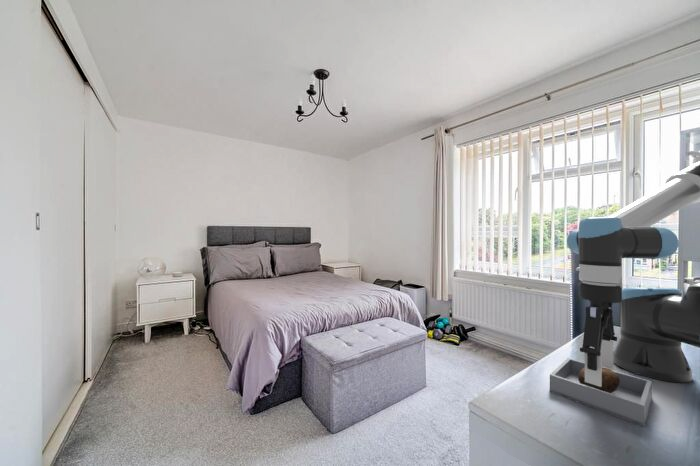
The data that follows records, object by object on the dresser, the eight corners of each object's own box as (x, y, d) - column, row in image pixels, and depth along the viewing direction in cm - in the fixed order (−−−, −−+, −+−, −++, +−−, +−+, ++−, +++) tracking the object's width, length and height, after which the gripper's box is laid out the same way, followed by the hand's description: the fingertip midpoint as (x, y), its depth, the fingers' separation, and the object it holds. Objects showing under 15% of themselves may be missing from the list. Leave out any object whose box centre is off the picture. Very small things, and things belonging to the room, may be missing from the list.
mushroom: (629, 379, 64) (610, 356, 65) (632, 407, 58) (612, 381, 59) (589, 383, 69) (573, 361, 70) (589, 408, 64) (571, 385, 65)
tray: (568, 372, 75) (568, 357, 75) (651, 398, 63) (651, 381, 63) (549, 391, 65) (549, 374, 65) (644, 426, 53) (644, 405, 53)
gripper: (590, 277, 75) (590, 355, 75) (564, 285, 60) (564, 384, 59) (629, 280, 70) (630, 365, 69) (611, 291, 54) (611, 401, 53)
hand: (599, 374), depth 64 cm, fingers open, 13 cm apart
